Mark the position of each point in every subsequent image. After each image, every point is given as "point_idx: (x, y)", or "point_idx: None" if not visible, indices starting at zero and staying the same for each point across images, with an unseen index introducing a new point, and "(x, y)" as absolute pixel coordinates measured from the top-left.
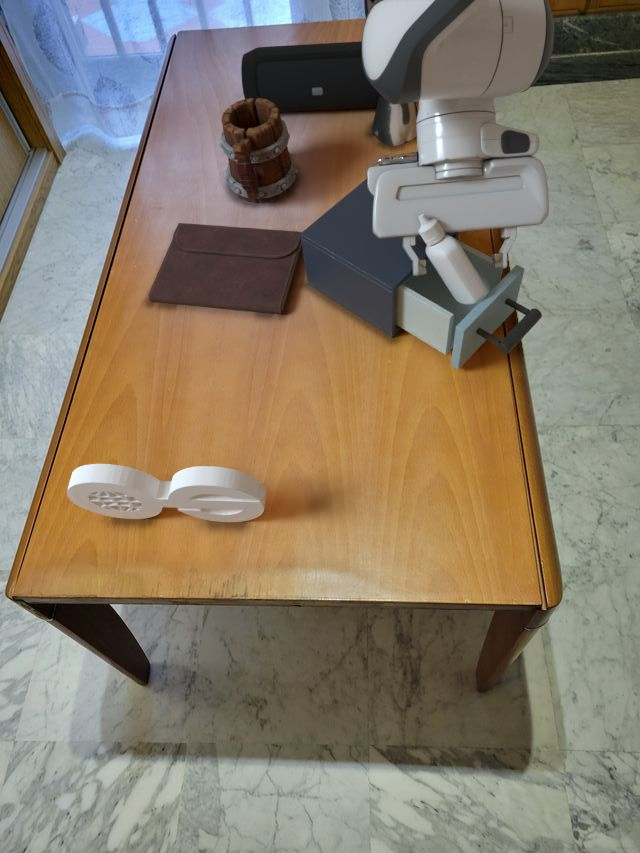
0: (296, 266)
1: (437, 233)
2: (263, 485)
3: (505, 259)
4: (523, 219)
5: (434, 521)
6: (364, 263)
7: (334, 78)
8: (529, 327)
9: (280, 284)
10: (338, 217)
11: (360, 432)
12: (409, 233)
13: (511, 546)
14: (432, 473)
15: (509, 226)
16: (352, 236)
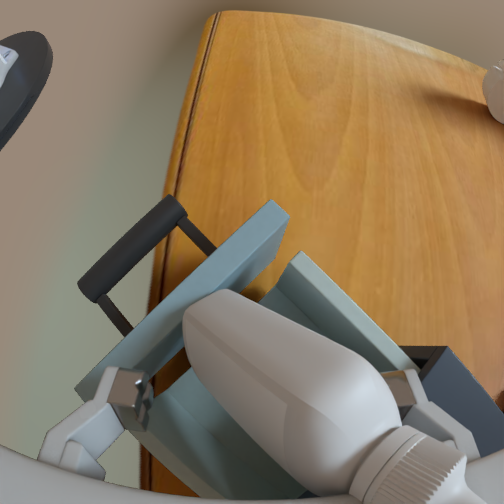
0: None
1: (406, 461)
2: (498, 79)
3: (104, 383)
4: (2, 463)
5: (314, 59)
6: (488, 426)
7: None
8: (110, 249)
9: None
10: None
11: (411, 167)
12: (480, 462)
13: (236, 35)
14: (315, 100)
15: (53, 466)
16: None
